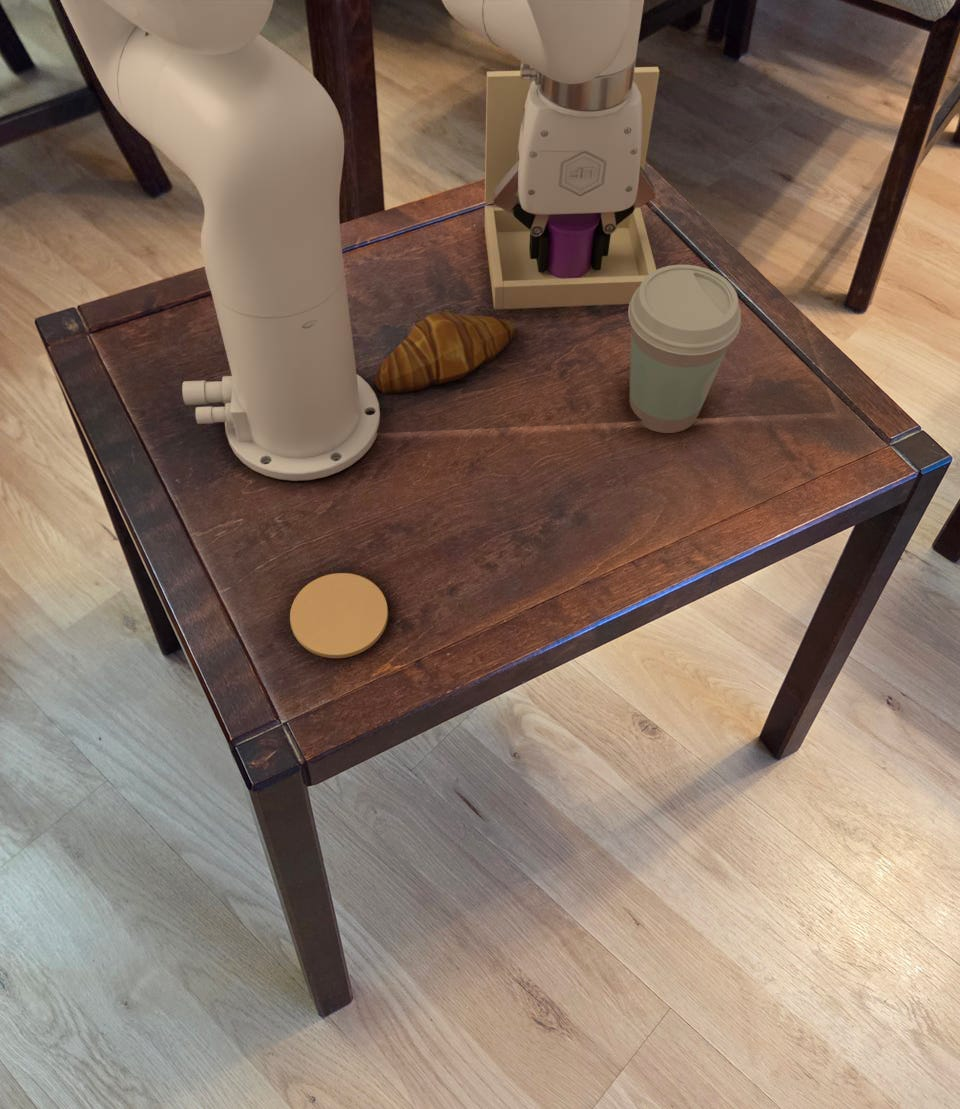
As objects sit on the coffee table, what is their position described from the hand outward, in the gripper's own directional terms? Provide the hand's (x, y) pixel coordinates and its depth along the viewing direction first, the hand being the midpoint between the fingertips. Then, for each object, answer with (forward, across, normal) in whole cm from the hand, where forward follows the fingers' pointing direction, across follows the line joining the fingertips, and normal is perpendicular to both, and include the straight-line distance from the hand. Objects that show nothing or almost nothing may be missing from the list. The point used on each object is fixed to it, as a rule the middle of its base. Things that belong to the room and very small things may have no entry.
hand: (567, 259), depth 98 cm
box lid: (-9, 0, +5) cm, 10 cm away
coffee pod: (0, 0, 0) cm, 0 cm away
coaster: (+1, -21, -37) cm, 43 cm away
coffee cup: (+1, +6, -18) cm, 19 cm away
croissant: (+1, -12, -12) cm, 17 cm away
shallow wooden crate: (+1, 0, 0) cm, 1 cm away
